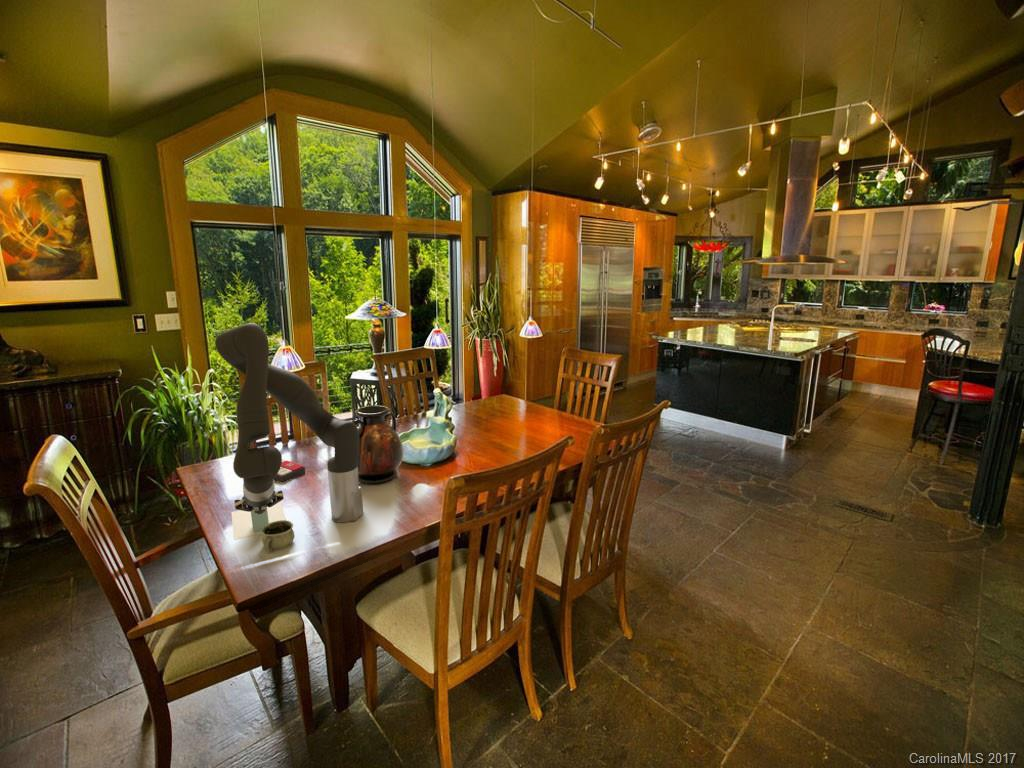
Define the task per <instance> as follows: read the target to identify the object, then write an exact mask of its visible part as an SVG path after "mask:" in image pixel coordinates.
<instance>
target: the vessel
mask: <svg viewBox="0 0 1024 768" xmlns="http://www.w3.org/2000/svg"><path fill="white" fill-rule="evenodd" d="M293 527H294V524H293V522H292V521H290V520H287V519H286V520H280V521H275V522H271V523H269V524H267V525H265V526H264V527H262V529H261V533H260V534H262V537H261V542H262V545H263V546H264V547H265V549H266V550H267V553H268V554H271V553H272V551H278V550H283V549H285V548H288V547H289V546H291V545H292V543H293V541H294V539H295V537H296V535H295V531H294V530H293Z"/></svg>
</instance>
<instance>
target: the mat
mask: <svg viewBox="0 0 1024 768" xmlns="http://www.w3.org/2000/svg"><path fill="white" fill-rule="evenodd" d="M230 513H231V520H232V522H231V523H232V530H233V531H232V532H233V538H234V541H235V540H239V539H243V538H247V537H251V536H255V535H261V534H262V533H261V531H260V532H256V533H254V532H253V526H252V518H251V512H247V511H242V510H234V511H231V512H230ZM267 513H268V521H269V523H271V522H275V521H280V520H286V521H287V518H286V515H285V512H284V509H283V505H282V501H280V502H278V503H277V504H275V505H274V506H272V507H268V506H267Z"/></svg>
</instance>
